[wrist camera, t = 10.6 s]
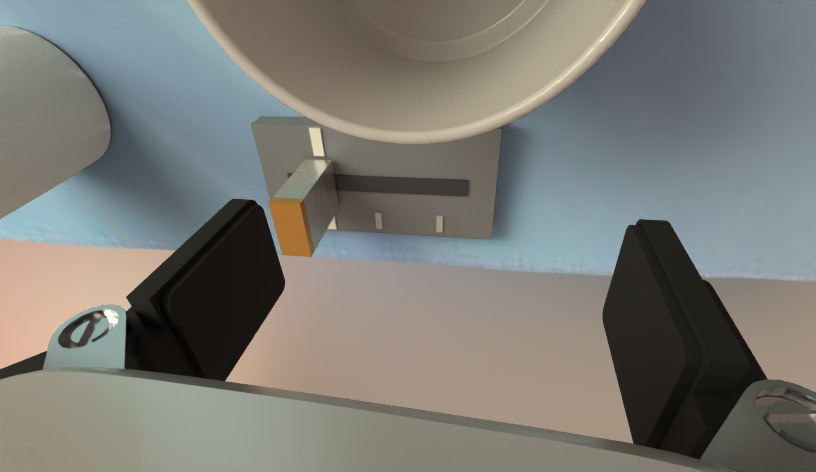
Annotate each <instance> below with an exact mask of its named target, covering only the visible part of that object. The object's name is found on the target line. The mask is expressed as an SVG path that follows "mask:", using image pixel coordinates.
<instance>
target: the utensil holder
mask: <svg viewBox="0 0 816 472" xmlns="http://www.w3.org/2000/svg"><path fill="white" fill-rule="evenodd" d="M110 138H111V128H110V121H109V117H108V113H107V111H106V108H105V106H104V103H103V101H102V99H101V97H100V95H99V94H98V92H97V90H96V89H95V87H94V86H93V84H92V83H91V81H90V80H89V79H88V77H87V76H86V75H85V74H84V73H83V71H82V70H81V69H80V68H79V67H78V66H77V65H76V64H75V63H74V62H73V61H72V60H71V59H70V58H69V57H68V56H67V55H66V54H64V53H63V52H62V51H61V50H59V49H58V48H57V47H55V46H54V45H53V44H51V43H50V42H48V41H46V40H45V39H43V38H41V37H39V36H37V35H35V34H33V33H31V32H28V31H26V30H23V29H20V28H16V27H10V26H0V219H1V218H3V217H4V216H6V215H8V214H10V213H11V212H13V211H15V210H16V209H18V208H20V207H22V206H23V205H25V204H27V203H28V202H30V201H32V200H34V199H35V198H37V197H39V196H40V195H42V194H44V193H45V192H47V191H49V190H50V189H52V188H54V187H55V186H57V185H59V184H60V183H62V182H64V181H65V180H67V179H68V178H70V177H72V176H73V175H75V174H76V173H78V172H79V171H81V170H83V169H84V168H86V167H87V166H89V165H90V164H92V163H93V162H95V161H96V160H98V159H99V158H100V157H102V156H103V155H104V153H105V152H106V150H107V148H108V146H109V143H110Z"/></svg>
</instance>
